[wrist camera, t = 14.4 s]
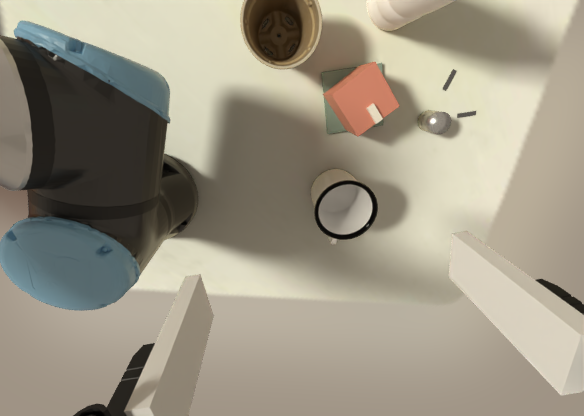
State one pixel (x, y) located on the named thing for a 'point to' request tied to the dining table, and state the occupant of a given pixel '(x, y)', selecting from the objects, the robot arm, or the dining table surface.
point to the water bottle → (400, 11)
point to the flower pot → (281, 30)
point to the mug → (342, 205)
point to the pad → (331, 118)
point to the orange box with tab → (361, 98)
